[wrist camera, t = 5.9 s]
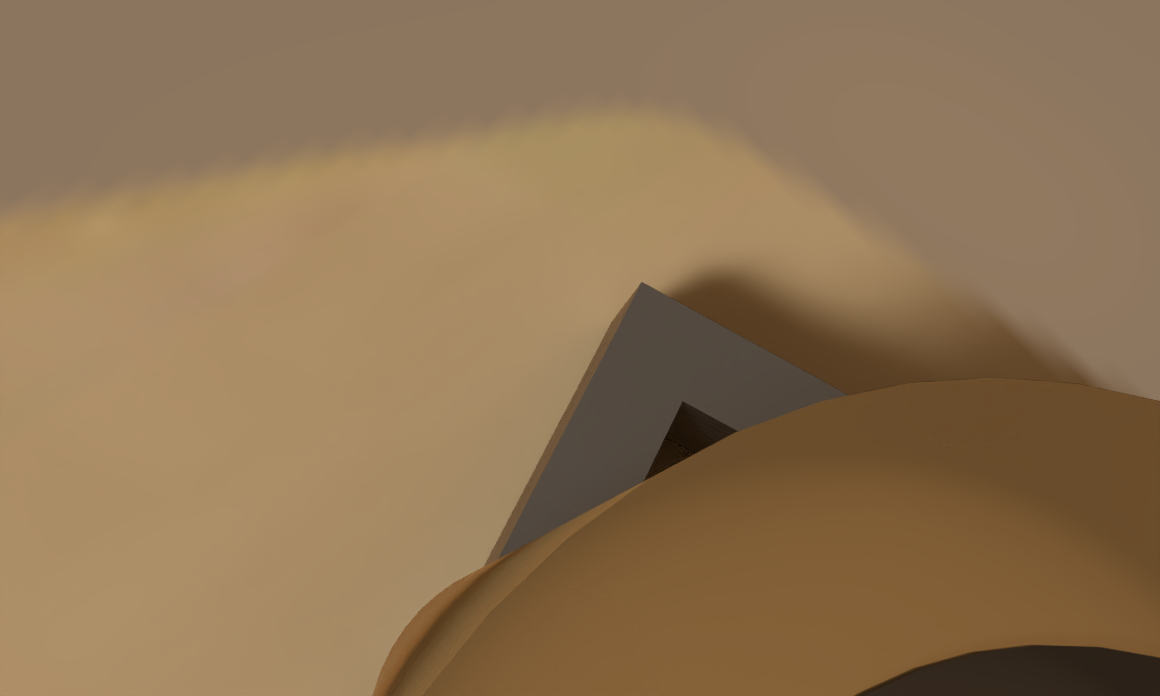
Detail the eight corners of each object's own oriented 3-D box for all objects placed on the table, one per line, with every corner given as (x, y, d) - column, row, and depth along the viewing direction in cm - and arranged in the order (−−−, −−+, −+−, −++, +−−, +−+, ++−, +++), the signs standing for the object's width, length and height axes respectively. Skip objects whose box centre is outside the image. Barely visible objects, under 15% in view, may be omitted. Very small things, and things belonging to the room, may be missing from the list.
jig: (1134, 606, 24) (1235, 606, 21) (996, 1053, 21) (1091, 1124, 18) (611, 321, 23) (641, 282, 21) (393, 738, 20) (393, 760, 18)
